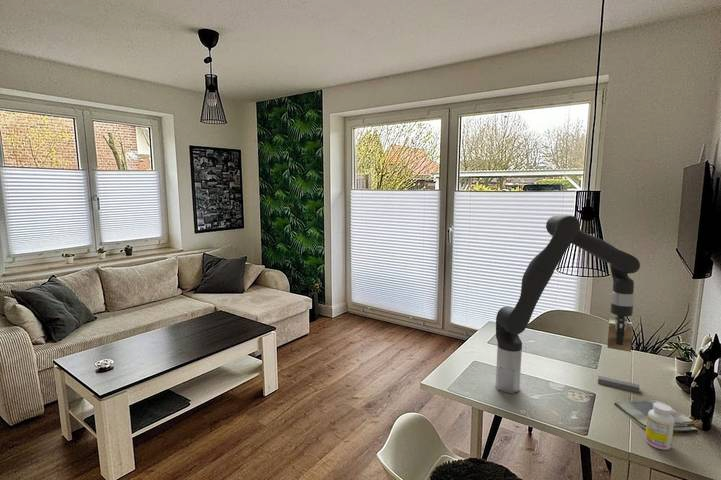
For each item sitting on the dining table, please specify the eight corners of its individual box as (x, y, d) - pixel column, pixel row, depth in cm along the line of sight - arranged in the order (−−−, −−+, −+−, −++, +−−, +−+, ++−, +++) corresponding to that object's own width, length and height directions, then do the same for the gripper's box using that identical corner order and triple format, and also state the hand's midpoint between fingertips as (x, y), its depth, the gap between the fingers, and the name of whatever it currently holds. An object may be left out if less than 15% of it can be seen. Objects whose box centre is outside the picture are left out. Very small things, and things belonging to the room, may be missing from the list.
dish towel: (611, 405, 145) (612, 397, 145) (658, 404, 145) (659, 396, 145) (649, 436, 126) (650, 427, 126) (702, 435, 127) (703, 426, 126)
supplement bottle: (656, 435, 126) (661, 399, 124) (676, 449, 119) (682, 411, 117) (639, 437, 125) (644, 401, 123) (658, 451, 118) (663, 413, 116)
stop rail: (639, 392, 153) (639, 387, 152) (597, 383, 160) (598, 378, 160) (638, 389, 155) (639, 384, 155) (598, 380, 163) (598, 375, 162)
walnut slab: (630, 351, 156) (632, 325, 154) (607, 347, 160) (609, 322, 159) (630, 347, 159) (632, 322, 158) (607, 344, 164) (609, 319, 162)
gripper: (634, 308, 149) (630, 350, 152) (632, 299, 161) (629, 338, 163) (611, 306, 153) (608, 346, 156) (611, 297, 165) (608, 335, 167)
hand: (619, 342), depth 160 cm, fingers closed on walnut slab, 4 cm apart
